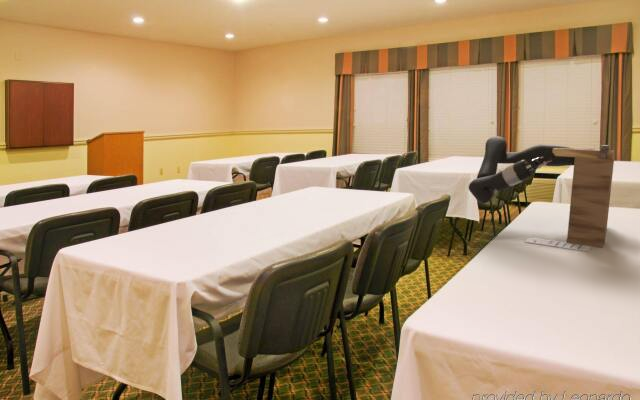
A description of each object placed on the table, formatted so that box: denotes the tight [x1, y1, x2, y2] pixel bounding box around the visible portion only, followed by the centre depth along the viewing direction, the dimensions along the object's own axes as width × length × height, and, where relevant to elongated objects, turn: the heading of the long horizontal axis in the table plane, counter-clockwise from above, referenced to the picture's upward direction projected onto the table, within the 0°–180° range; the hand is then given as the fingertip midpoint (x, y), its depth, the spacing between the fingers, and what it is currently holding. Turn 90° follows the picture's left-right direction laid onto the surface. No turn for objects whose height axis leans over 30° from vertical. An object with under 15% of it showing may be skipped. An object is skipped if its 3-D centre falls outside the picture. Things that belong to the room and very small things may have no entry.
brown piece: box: [566, 144, 615, 249], centre depth 188 cm, size 6×12×37 cm, turn 53°
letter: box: [524, 237, 592, 253], centre depth 189 cm, size 8×21×1 cm, turn 53°
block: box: [553, 148, 615, 160], centre depth 188 cm, size 3×20×3 cm, turn 53°
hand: (557, 153), depth 192 cm, fingers open, 8 cm apart
